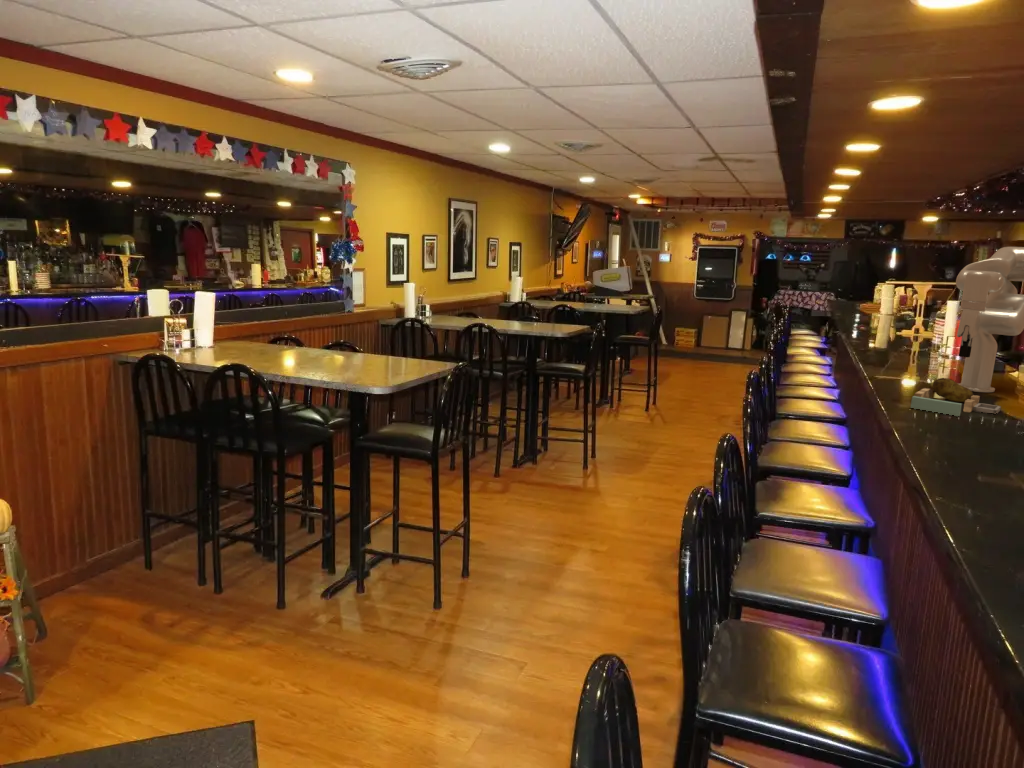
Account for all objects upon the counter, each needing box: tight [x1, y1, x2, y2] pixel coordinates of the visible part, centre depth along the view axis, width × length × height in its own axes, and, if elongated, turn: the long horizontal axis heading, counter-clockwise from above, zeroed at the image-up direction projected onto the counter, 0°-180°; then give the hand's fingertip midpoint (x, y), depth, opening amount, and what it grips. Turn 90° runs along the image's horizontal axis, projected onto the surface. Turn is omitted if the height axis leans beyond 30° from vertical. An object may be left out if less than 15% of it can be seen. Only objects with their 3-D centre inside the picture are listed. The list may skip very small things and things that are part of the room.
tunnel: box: [913, 387, 981, 413], centre depth 240 cm, size 14×17×4 cm
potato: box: [932, 377, 974, 403], centre depth 246 cm, size 8×13×8 cm, turn 64°
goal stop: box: [910, 395, 963, 417], centre depth 228 cm, size 2×14×4 cm, turn 48°
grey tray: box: [972, 402, 1002, 415], centre depth 233 cm, size 9×6×2 cm
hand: (964, 356), depth 252 cm, fingers closed
